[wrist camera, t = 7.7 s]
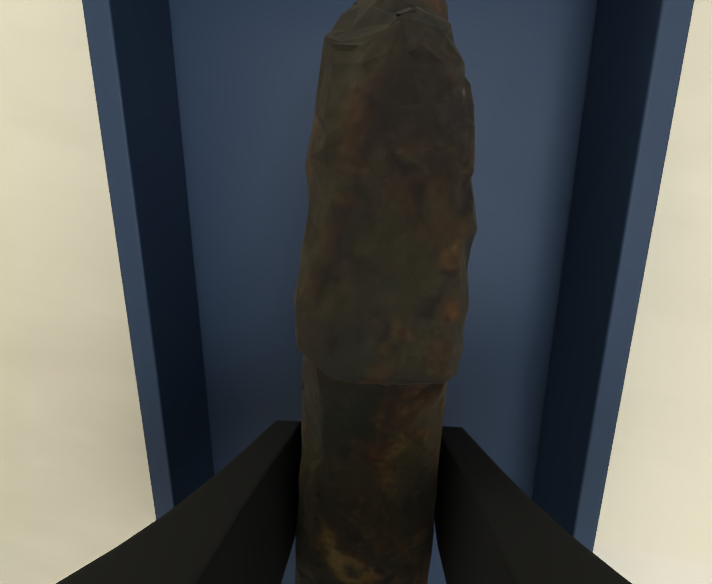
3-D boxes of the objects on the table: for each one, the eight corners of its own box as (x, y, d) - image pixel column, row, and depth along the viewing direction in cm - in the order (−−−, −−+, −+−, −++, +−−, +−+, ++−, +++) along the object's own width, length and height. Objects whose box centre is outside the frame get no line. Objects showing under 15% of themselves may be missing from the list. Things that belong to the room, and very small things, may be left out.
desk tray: (224, 652, 16) (189, 754, 13) (152, -48, 10) (58, -152, 7) (517, 673, 15) (550, 786, 12) (620, -64, 9) (730, -186, 6)
